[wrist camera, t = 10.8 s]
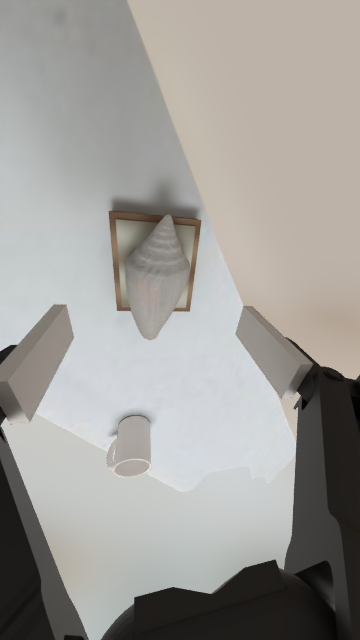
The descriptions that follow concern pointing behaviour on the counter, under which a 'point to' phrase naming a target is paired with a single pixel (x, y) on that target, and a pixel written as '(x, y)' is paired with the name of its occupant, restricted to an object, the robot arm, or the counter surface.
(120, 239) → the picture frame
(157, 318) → the seashell
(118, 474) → the mug
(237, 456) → the counter surface
